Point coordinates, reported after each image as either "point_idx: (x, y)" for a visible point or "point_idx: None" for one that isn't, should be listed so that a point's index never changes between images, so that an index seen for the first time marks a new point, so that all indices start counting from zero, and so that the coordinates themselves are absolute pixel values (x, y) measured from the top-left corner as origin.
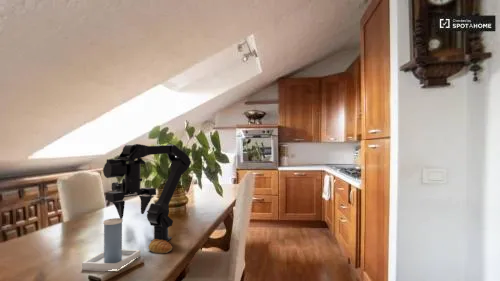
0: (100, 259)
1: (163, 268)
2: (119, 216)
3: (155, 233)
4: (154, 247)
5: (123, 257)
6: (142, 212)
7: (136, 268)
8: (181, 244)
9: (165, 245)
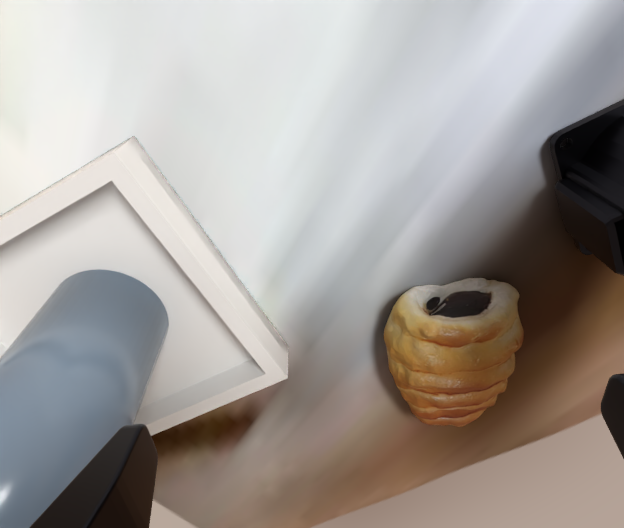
0: (38, 232)
1: (279, 513)
2: (99, 455)
3: (598, 228)
4: (396, 370)
5: (185, 320)
6: (618, 432)
7: (192, 447)
8: (592, 357)
9: (449, 412)
